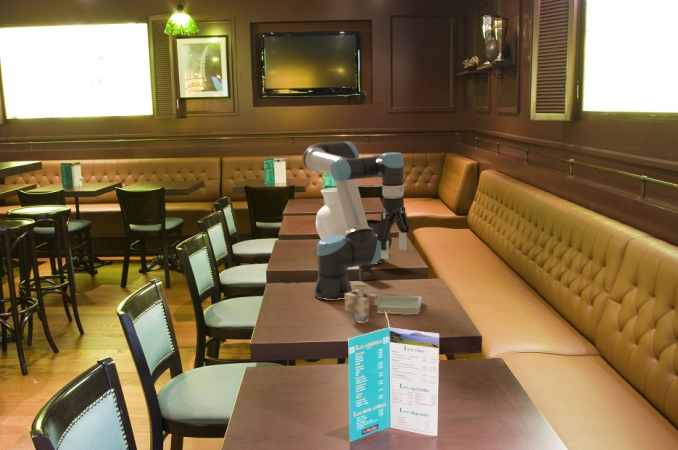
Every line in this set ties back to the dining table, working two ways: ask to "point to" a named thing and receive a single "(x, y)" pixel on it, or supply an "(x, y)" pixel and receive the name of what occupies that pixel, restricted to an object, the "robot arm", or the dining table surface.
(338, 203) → the vase
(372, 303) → the slotted wooden block
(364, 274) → the box
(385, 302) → the tray
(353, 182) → the robot arm
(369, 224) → the beer stein
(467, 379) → the dining table surface
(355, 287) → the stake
